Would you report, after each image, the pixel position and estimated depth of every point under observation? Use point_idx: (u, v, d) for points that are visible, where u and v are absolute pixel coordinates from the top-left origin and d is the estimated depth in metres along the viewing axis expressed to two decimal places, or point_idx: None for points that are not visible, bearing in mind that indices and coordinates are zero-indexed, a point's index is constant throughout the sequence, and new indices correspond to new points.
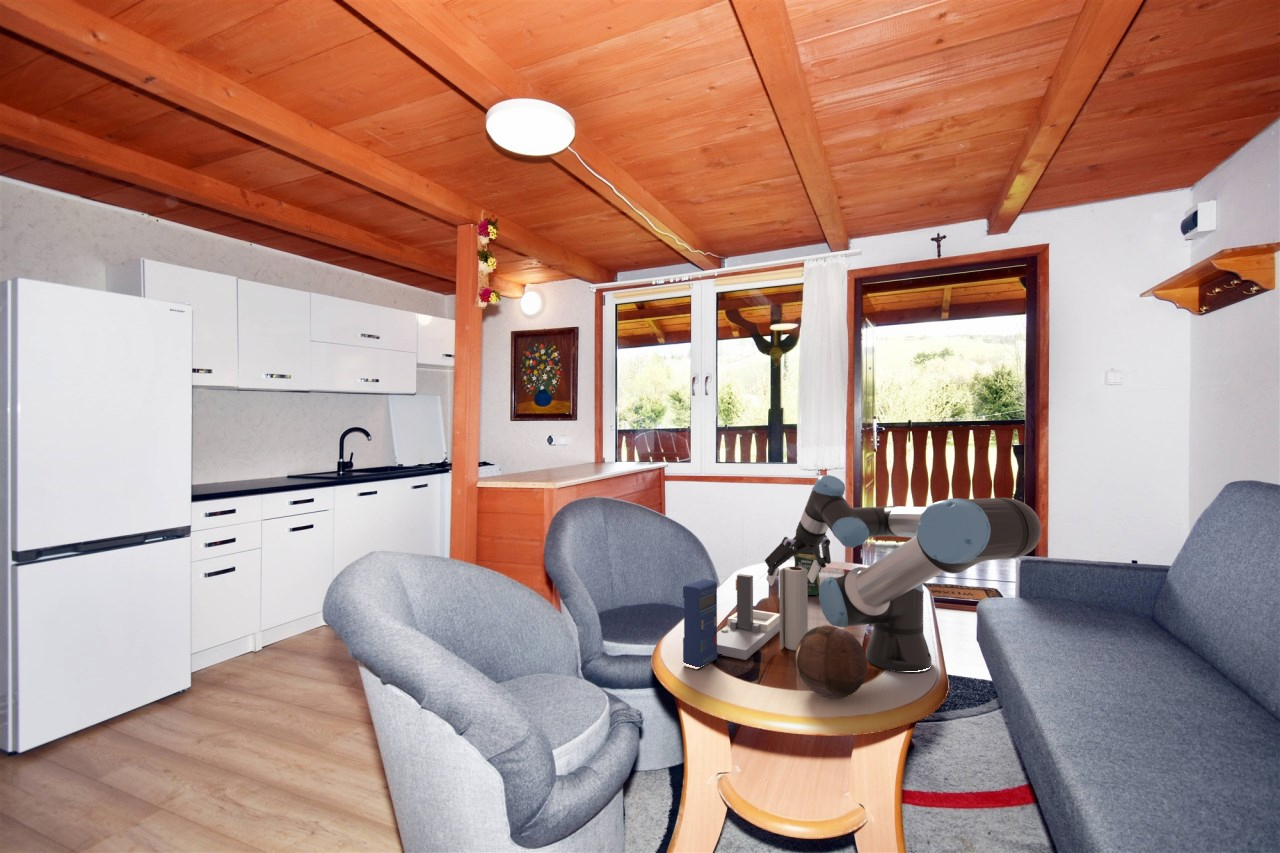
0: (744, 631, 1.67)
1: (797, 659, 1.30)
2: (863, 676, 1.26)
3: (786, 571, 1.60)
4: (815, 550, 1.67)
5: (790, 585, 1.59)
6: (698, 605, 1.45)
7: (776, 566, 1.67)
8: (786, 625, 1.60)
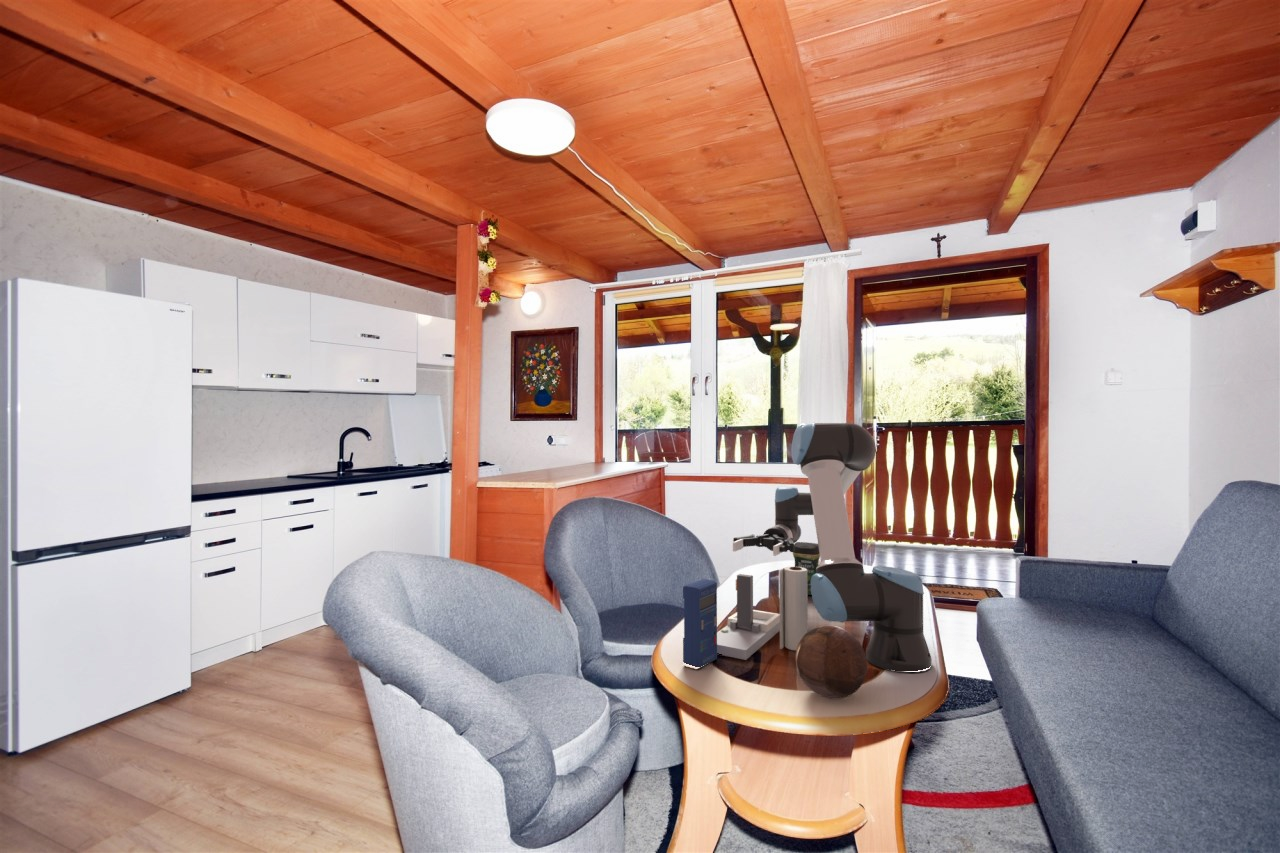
0: (744, 631, 1.67)
1: (797, 659, 1.30)
2: (863, 676, 1.26)
3: (786, 571, 1.60)
4: (777, 536, 1.85)
5: (790, 585, 1.59)
6: (698, 605, 1.45)
7: (741, 538, 1.85)
8: (786, 625, 1.60)
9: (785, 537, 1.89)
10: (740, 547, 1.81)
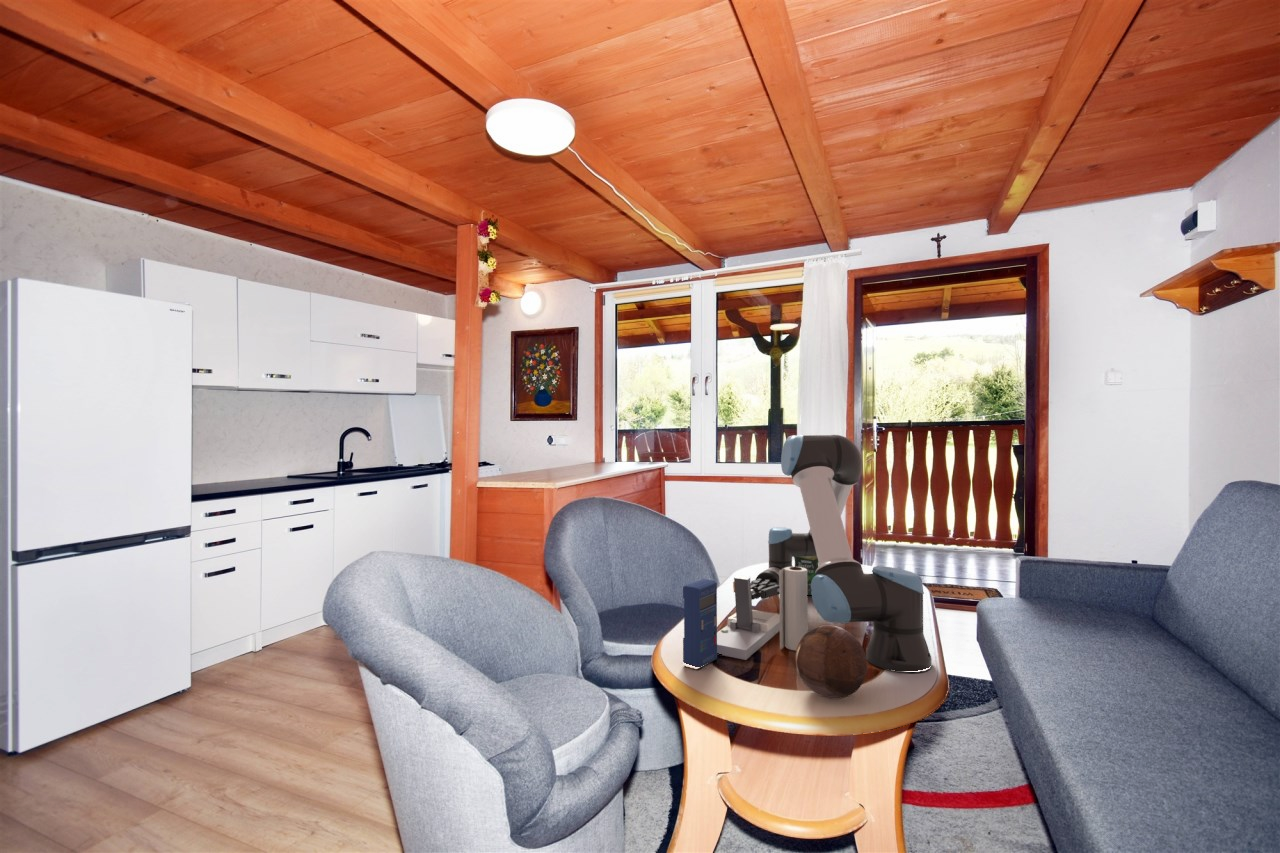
0: (744, 631, 1.67)
1: (797, 659, 1.30)
2: (863, 676, 1.26)
3: (786, 571, 1.60)
4: (766, 582, 1.81)
5: (790, 585, 1.59)
6: (698, 605, 1.45)
7: None
8: (786, 625, 1.60)
9: (778, 582, 1.84)
10: None
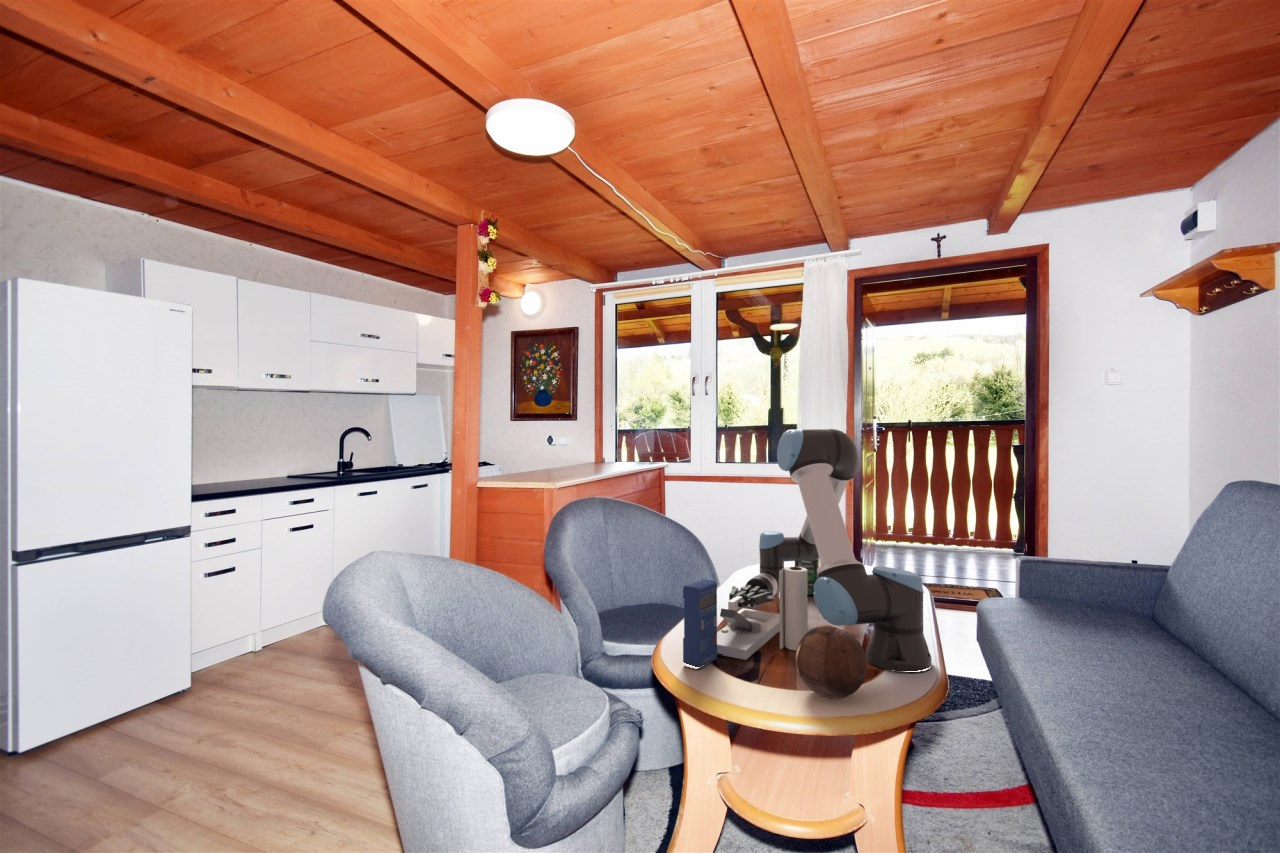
0: (744, 631, 1.67)
1: (797, 659, 1.30)
2: (863, 676, 1.26)
3: (786, 571, 1.60)
4: (755, 589, 1.73)
5: (790, 585, 1.59)
6: (698, 605, 1.45)
7: (736, 595, 1.68)
8: (786, 625, 1.60)
9: (769, 588, 1.77)
10: None
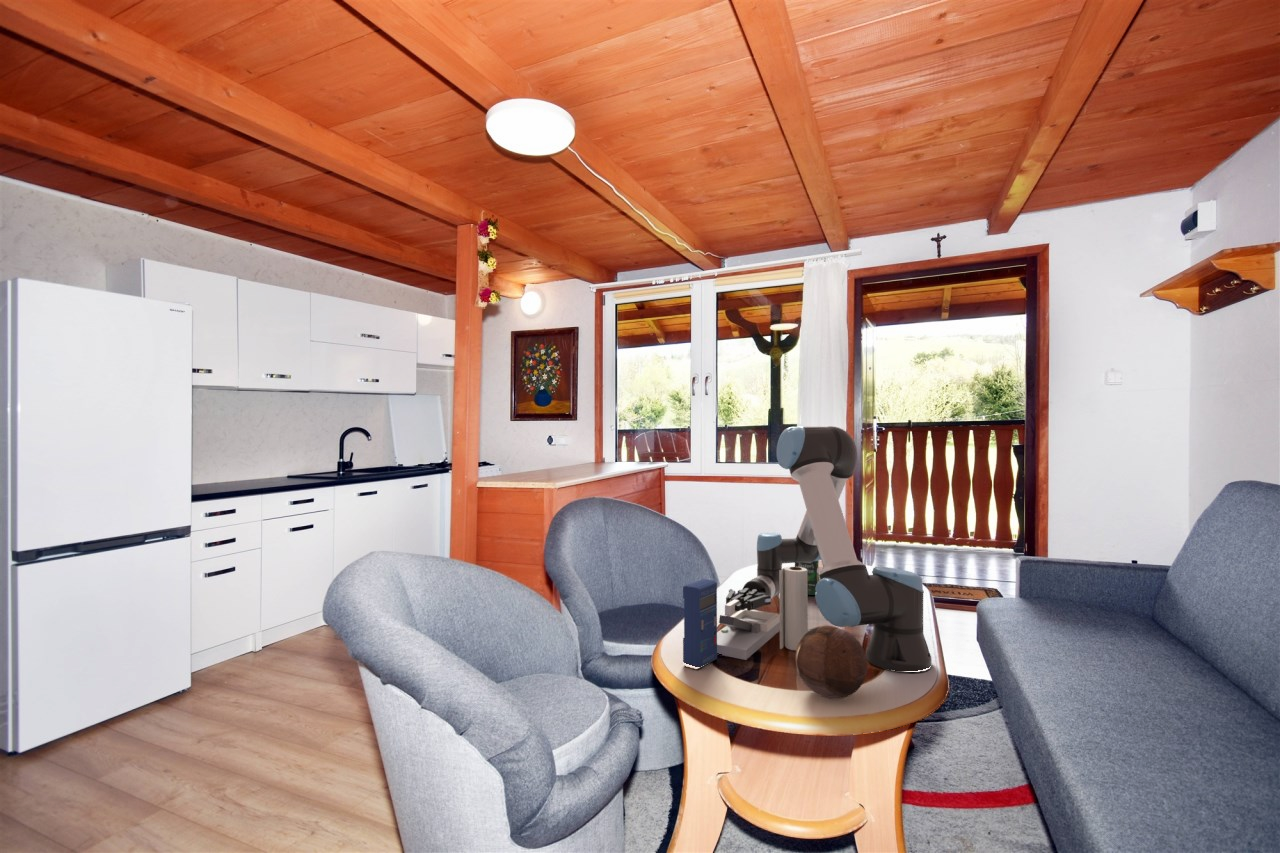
0: (744, 631, 1.67)
1: (797, 659, 1.30)
2: (863, 676, 1.26)
3: (786, 571, 1.60)
4: (753, 592, 1.70)
5: (790, 585, 1.59)
6: (698, 605, 1.45)
7: (733, 598, 1.65)
8: (786, 625, 1.60)
9: (766, 591, 1.73)
10: None
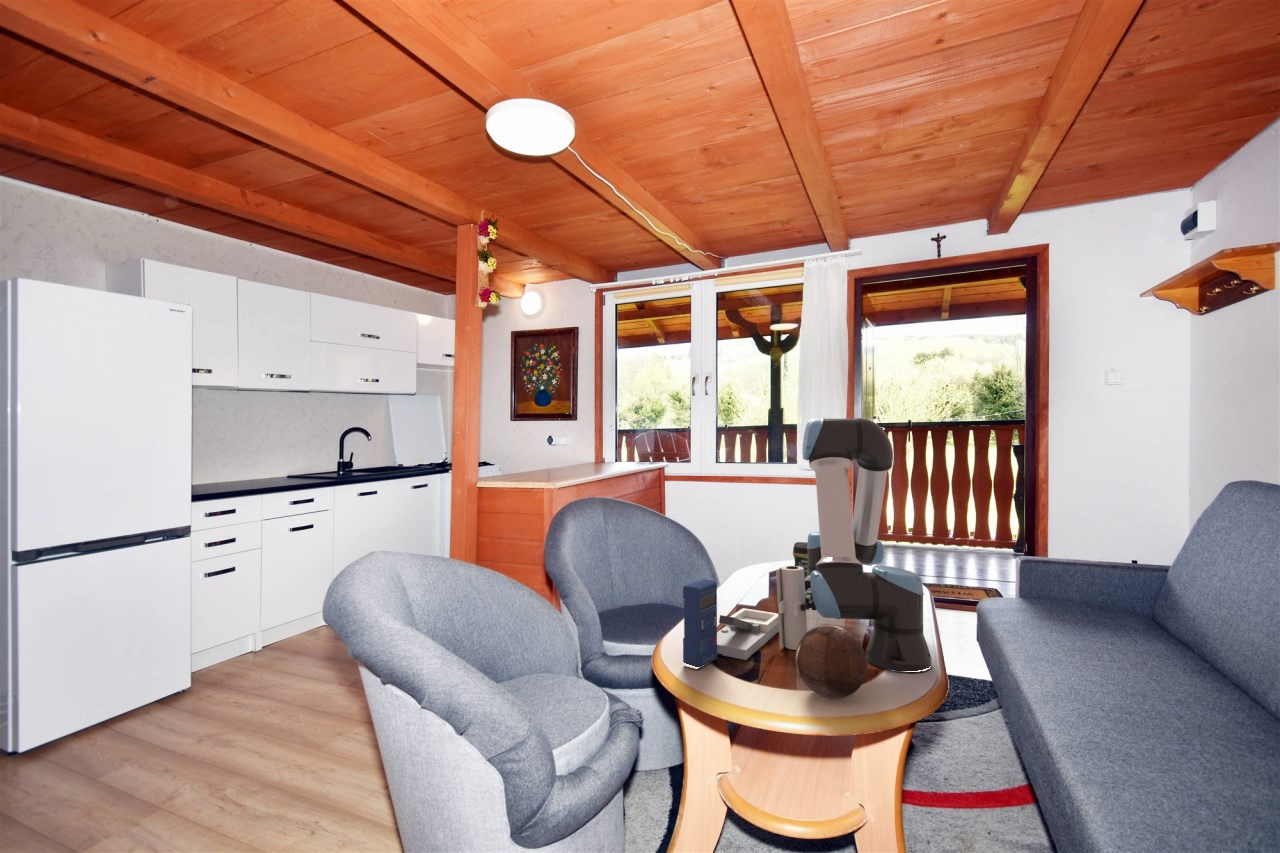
0: (744, 631, 1.67)
1: (797, 659, 1.30)
2: (863, 676, 1.26)
3: (783, 570, 1.61)
4: (810, 591, 1.69)
5: (787, 584, 1.59)
6: (698, 605, 1.45)
7: None
8: (785, 625, 1.60)
9: None
10: None
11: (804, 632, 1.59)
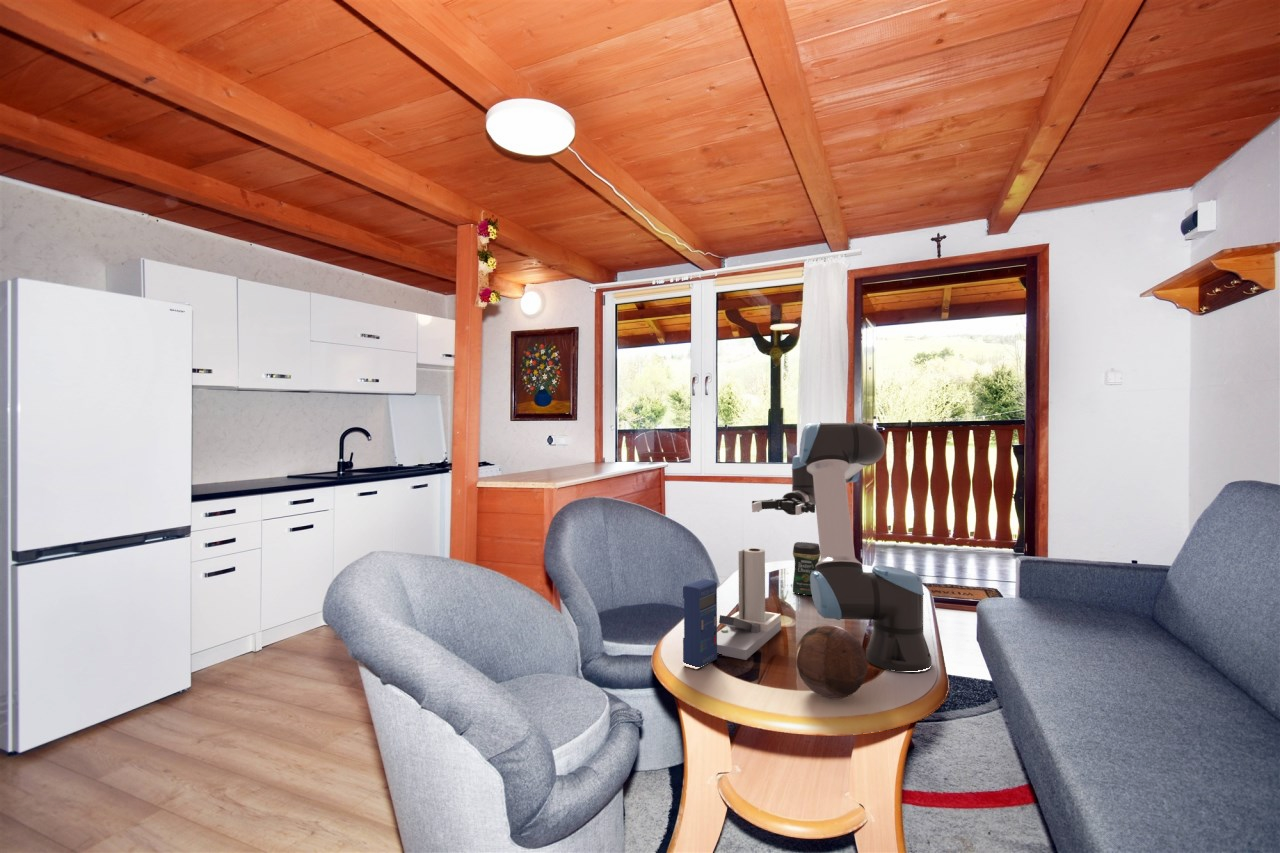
0: (744, 631, 1.67)
1: (797, 659, 1.30)
2: (863, 676, 1.26)
3: (745, 552, 1.74)
4: (796, 500, 1.91)
5: (748, 565, 1.73)
6: (698, 605, 1.45)
7: (759, 501, 1.92)
8: (745, 602, 1.74)
9: (803, 501, 1.95)
10: (759, 509, 1.88)
11: (762, 609, 1.72)
